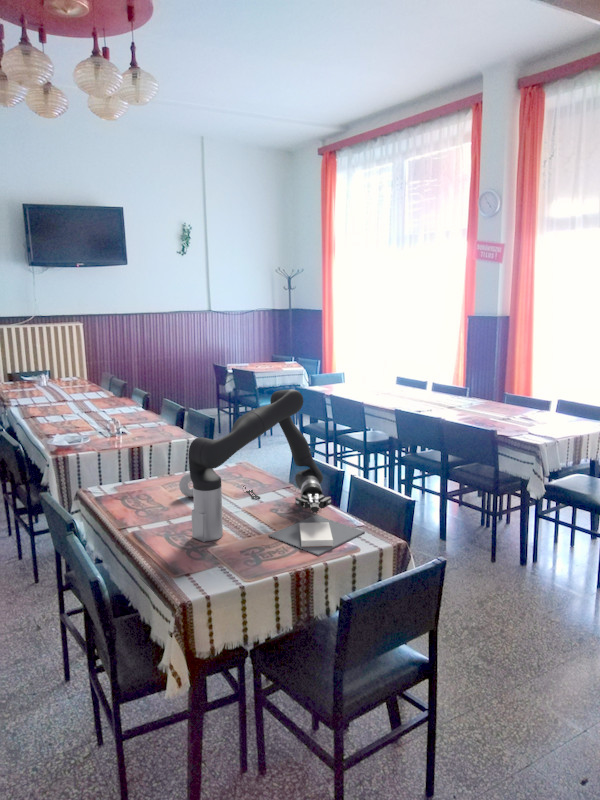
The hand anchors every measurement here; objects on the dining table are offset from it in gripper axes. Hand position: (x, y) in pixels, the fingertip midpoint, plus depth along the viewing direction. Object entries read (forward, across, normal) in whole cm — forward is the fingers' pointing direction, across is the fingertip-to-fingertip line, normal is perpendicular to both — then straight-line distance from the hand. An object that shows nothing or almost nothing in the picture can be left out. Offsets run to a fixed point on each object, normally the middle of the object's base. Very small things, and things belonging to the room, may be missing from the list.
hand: (315, 510), depth 200 cm
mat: (-1, +1, +9) cm, 9 cm away
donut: (-40, -46, +9) cm, 62 cm away
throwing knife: (-45, -24, +10) cm, 52 cm away
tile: (-4, 0, +7) cm, 8 cm away
